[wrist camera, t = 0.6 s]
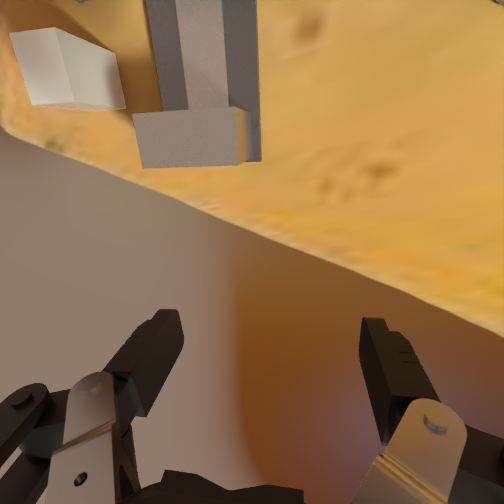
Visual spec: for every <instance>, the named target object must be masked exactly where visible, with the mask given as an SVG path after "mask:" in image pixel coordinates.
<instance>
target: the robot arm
mask: <svg viewBox="0 0 504 504" xmlns="http://www.w3.org/2000/svg"><path fill="white" fill-rule="evenodd" d="M183 344H184V334H183V330H182V325H181V321H180V317H179V312H178V311H177V310H176V309H159V310H158V311H157V313H156V314H155V315H154V316H153V318H152V319H151V320H147V321H145V322H144V323H143V324H141V325H140V326H138V327H137V329H136V330H135V331H134V332H133V333H132V335H131V337H129V338H128V339H127V341H126V342H125V345H123V346H122V347H121V348H120V349H119V351H118V352H117V353H116V354H115V355H114V357H113V358H112V359H111V360H110V362H109V363H108V364H107V365H106V367H105V368H104V369H103V370H102V371H101V372H95V373H92V374H90V375H88V376H86V377H84V378H82V379H81V380H80V381H78V382H77V383H76V384H75V385H74V386H73V387H72V389H68V390H63V391H58V392H53V393H49V391H48V389H47V387H46V385H44V384H42V383H34V384H31V385H27V386H25V387H22V388H20V389H18V390H17V391H15V392H13V393H12V394H11V395H9V396H8V397H7V398H6V399H5V400H4V401H3V402H2V403H0V468H1V466H2V465H3V464H4V463H5V462H6V460H7V459H8V458H9V457H10V455H11V454H12V453H13V452H14V451H15V450H16V448H17V447H19V448H20V450H21V451H22V453H21V454H20V455H19V457H18V458H17V459H16V460H15V462H14V463H13V464H12V465H11V467H10V468H9V469H8V470H7V472H6V473H5V474H4V475H3V477H2V478H1V479H0V504H36V502H37V500H38V499H39V498H40V496H41V495H42V493H43V492H44V490H45V488H46V487H47V492H46V499H45V504H306V503H304V496H303V495H304V494H303V490H300V489H294V488H287V487H280V486H274V485H262V486H256V487H250V488H244V489H238V490H227V489H224V488H222V487H221V486H219V485H217V484H215V483H213V482H211V481H209V480H207V479H205V478H203V477H201V476H199V475H197V474H192V473H185V472H179V471H172V470H165V472H164V474H163V477H162V479H161V482H158V483H155V484H152V485H149V486H147V487H144V488H142V489H141V485H140V482H139V478H138V472H137V464H136V456H135V448H134V440H133V432H132V426H131V422H132V420H133V419H134V417H135V416H140V417H147V415H148V413H149V411H150V409H151V407H152V405H153V403H154V402H155V400H156V398H157V396H158V394H159V392H160V390H161V388H162V386H163V385H164V383H165V381H166V379H167V377H168V375H169V373H170V371H171V369H172V368H173V365H174V363H175V362H176V360H177V358H178V356H179V354H180V352H181V350H182V348H183ZM359 359H360V364H361V368H362V372H363V375H364V379H365V383H366V387H367V391H368V394H369V398H370V402H371V406H372V409H373V413H374V417H375V421H376V425H377V429H378V432H379V436H380V440H381V444H382V445H384V446H387V447H386V449H385V451H384V453H383V454H382V455H380V454H379V455H378V456H377V457H376V459H375V461H374V462H373V464H372V466H371V467H370V470H369V471H368V473H367V475H366V477H365V478H364V480H363V482H362V484H361V486H360V488H359V489H358V491H357V493H356V495H355V497H354V498H353V500H352V502H351V504H447V503H449V504H504V439H502V438H499V437H496V436H493V435H491V434H488V433H485V432H482V431H479V430H477V429H474V428H472V427H470V426H468V425H466V424H464V423H463V421H462V420H461V418H460V417H459V416H458V415H457V414H456V413H455V412H454V411H453V410H451V409H450V408H449V407H447V406H446V405H444V404H442V403H441V401H440V400H439V398H438V396H437V394H436V392H435V390H434V388H433V386H432V384H431V382H430V380H429V378H428V376H427V375H426V373H425V371H424V369H423V367H422V365H421V364H420V361H419V359H418V357H417V355H415V351H414V350H413V348H412V346H411V344H410V342H409V341H408V340H407V339H406V338H405V337H404V336H403V335H402V334H401V333H399V332H396V331H389V329H388V327H387V325H386V322H385V320H384V319H383V318H374V317H363V318H362V323H361V331H360V341H359Z"/></svg>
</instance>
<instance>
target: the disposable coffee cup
mask: <svg viewBox="0 0 504 504" xmlns="http://www.w3.org/2000/svg"><path fill="white" fill-rule="evenodd" d="M495 1H497V2H498V3H500V4H501V5H503V6H504V0H495Z"/></svg>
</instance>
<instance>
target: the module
mask: <svg viewBox="0 0 504 504" xmlns="http://www.w3.org/2000/svg"><path fill="white" fill-rule="evenodd" d="M8 34H9V37H10V40H11V43H12V46H13V49H14V52H15V55H16V58H17V61H18V64H19V67H20V70H21V73H22V76H23V79H24V82H25V85H26V88H27V91H28V94H29V97H30V100H31V104H32V105H34V106H44V107H53V108H63V109H73V110H82V111H92V112H93V111H106V110H120V109H126V104H125V99H124V94H123V89H122V84H121V80H120V75H119V70H118V65H117V60H116V55H115V53H113V52H111V51H109V50H106V49H104V48H102V47H99V46H97V45H95V44H93V43H90V42H88V41H86V40H83V39H81V38H79V37H76V36H74V35H72V34H69V33H67V32H65V31H63V30H60V29H58V28H56V27H50V28H43V29H36V30H28V31H21V32H13V33H8Z"/></svg>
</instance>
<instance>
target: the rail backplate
mask: <svg viewBox="0 0 504 504" xmlns="http://www.w3.org/2000/svg"><path fill="white" fill-rule="evenodd" d="M146 6H147V12H148V18H149V25H150V31H151V37H152V44H153V50H154V56H155V63H156V69H157V75H158V81H159V88H160V94H161V100H162V107H163V112H149V113H135V114H132V118H133V123H134V128H135V133H136V138H137V143H138V148H139V152H140V157H141V162H142V167H143V168H173V167H202V166H231V165H240V164H242V163H244V162H259V161H262V156H261V124H260V92H259V61H258V29H257V0H146Z"/></svg>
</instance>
